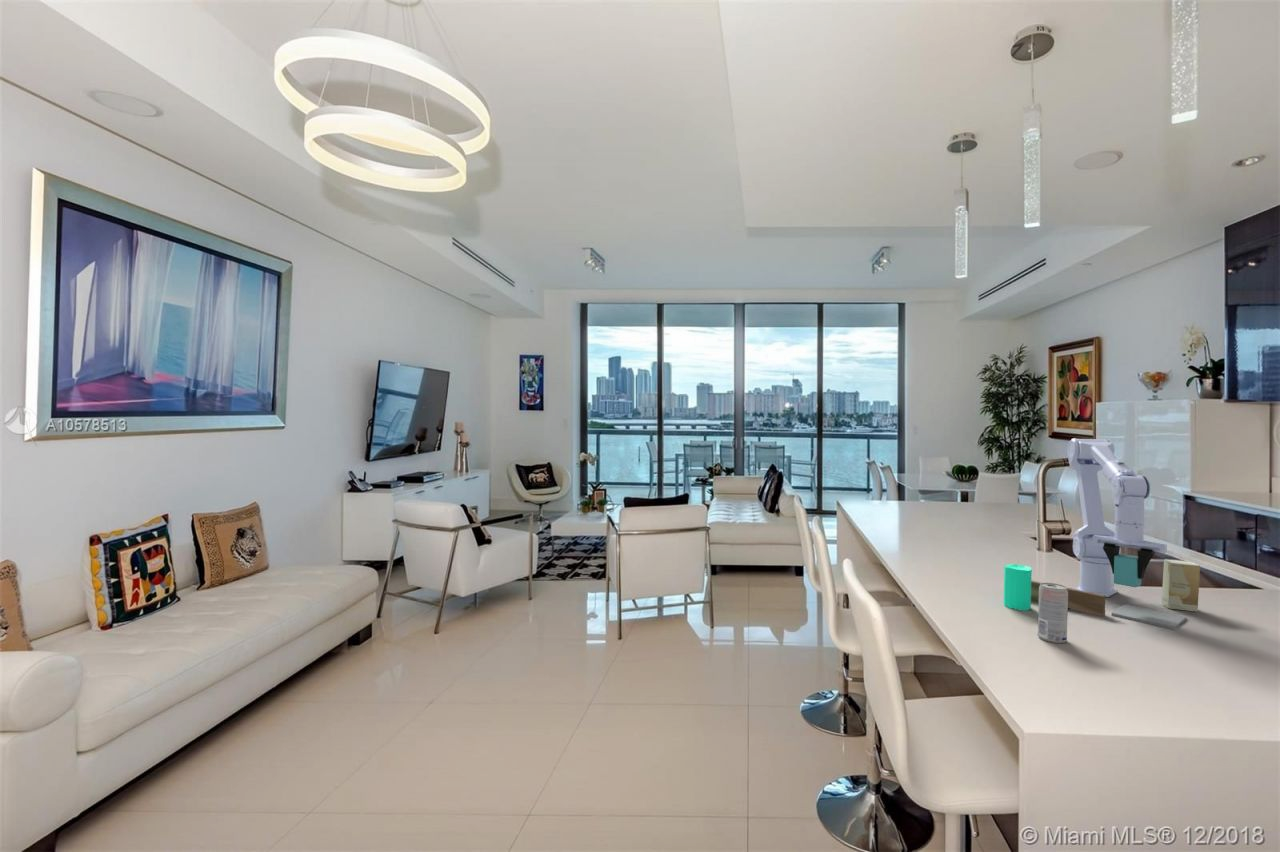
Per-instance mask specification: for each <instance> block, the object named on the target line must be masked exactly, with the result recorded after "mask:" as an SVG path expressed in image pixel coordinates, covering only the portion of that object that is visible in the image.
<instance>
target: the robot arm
mask: <svg viewBox="0 0 1280 852" xmlns="http://www.w3.org/2000/svg"><path fill="white" fill-rule="evenodd" d="M1067 458H1068V464H1069V468H1070V469H1072V470H1075V473H1076V479H1077V486H1078V493H1079V501H1080V508H1081V517H1082V523H1083V524H1082V525H1083V526H1082V527H1080V528H1079V529H1077V530H1075V531H1074V533H1073V535H1072V538H1073V541H1072V552H1073V554H1074V555H1075V556H1076V558H1077V559H1079V585H1078V586H1076V587H1075V588H1074V589H1076V590H1081V591H1086V592H1091V593H1096V594H1101V595H1106V598H1109V597H1111V596H1113V595H1115V594H1116V593H1118V592H1119V590H1118V589H1115V584H1114V556H1116V555H1118V554H1122V549H1121V547H1123V548H1131V549H1136V550H1137V557H1138V578H1139V579H1141V580H1142V579H1144V576H1145V573H1146V570H1147V567H1148V565H1149V563H1150V561H1151V560H1152V558H1153V556H1155V554H1156V552H1158V553H1161V554H1166V553H1167V551H1168V545H1167V544H1164V543H1159V542H1154V541H1153V542H1152V541H1150V540H1149V541H1148V540H1144V536H1145V535H1144V532H1145V531H1144V530H1145V529H1144V528H1145V500H1146V499H1148V498H1149V496H1150V493H1151V483H1150V481H1149V478H1148V477H1147V476H1146V475H1140V474H1136V473H1135V472H1134V471H1133V469H1131V467H1130V466H1129V465H1128V464H1127V463H1126V461H1124V460H1122V459H1121V460H1120V459H1117V456H1116V455H1115V444H1114V442H1113V441H1112V440H1111V439H1109V438H1103V439H1101V438H1100V439H1099V438H1095V439H1094V438H1076V437H1074V438H1071V440H1069V442H1068V445H1067ZM1100 471H1102V474H1103V476H1104V477H1105V479H1107V481H1108V482H1109V483H1110V490H1111V495H1112V503H1113V504H1115V505H1114V506H1115V507H1114V508H1115V510H1114V531H1113V530H1111V529H1109V527H1107V526H1105V524H1106V523H1105V518H1104V511H1103V503H1102V497H1101V491H1100V484H1099V483H1100V482H1099V476H1098V473H1099V472H1100Z"/></svg>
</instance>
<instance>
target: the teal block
mask: <svg viewBox="0 0 1280 852" xmlns="http://www.w3.org/2000/svg"><path fill="white" fill-rule="evenodd" d="M1114 585H1121V586H1125V587H1130V588H1138V587H1140V586H1141V585H1142V579H1139V578H1138V556H1135V555H1131V554H1130V555H1129V554H1123V553H1121V554H1118V555H1116V556H1114Z"/></svg>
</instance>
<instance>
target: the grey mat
mask: <svg viewBox="0 0 1280 852" xmlns="http://www.w3.org/2000/svg"><path fill="white" fill-rule="evenodd" d="M1111 616H1113V617H1118V618H1122V619H1127V620H1131V621H1136V622H1140V623H1143V624H1148V625H1149V624H1150V625H1153V626H1159V627H1163V628H1167V629H1172V630H1176V629H1177V628H1178V627H1179V626H1180V625H1181V624H1182V623H1184V622H1185V621H1186V620H1187V616H1185V615H1181V614H1175V613H1170V612H1167V611H1162V610H1157V609H1151V608H1148V607H1147V608H1146V607H1141V606H1137V605H1132V604H1128V603H1127V604H1126V603H1125V604H1124V605H1121V606H1120V607H1119V608H1117V609H1115V610H1114V611H1112V612H1111Z"/></svg>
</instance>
